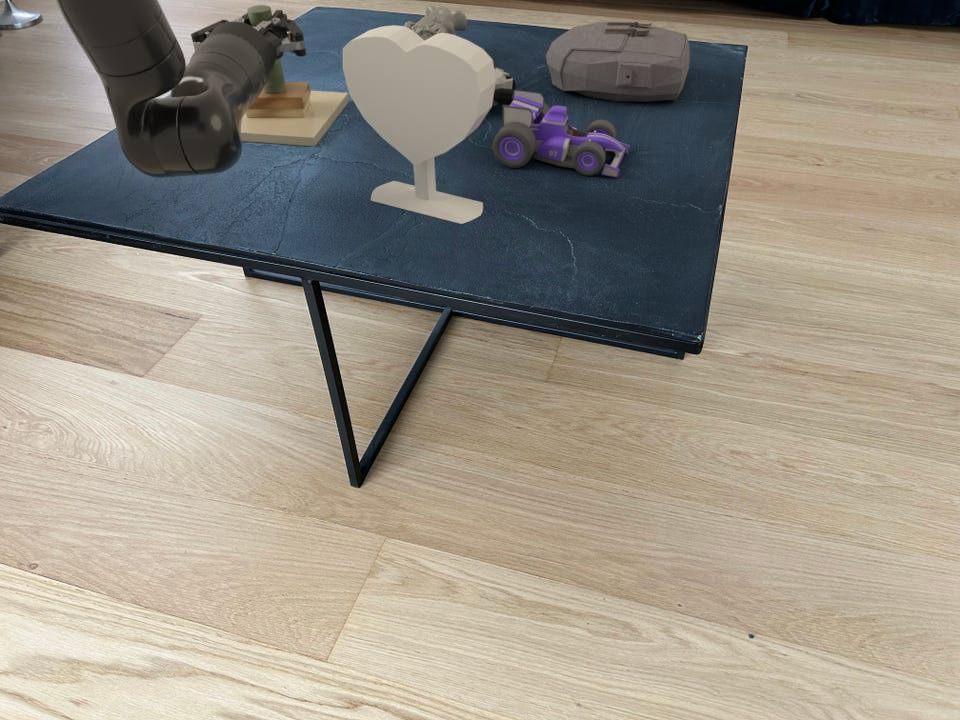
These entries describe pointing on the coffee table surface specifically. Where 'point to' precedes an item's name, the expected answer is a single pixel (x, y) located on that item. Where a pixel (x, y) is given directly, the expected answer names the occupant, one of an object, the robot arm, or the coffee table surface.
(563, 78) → the soft grey pack
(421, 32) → the elephant statuette
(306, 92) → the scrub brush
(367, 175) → the coffee table surface
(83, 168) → the coffee table surface
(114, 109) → the robot arm
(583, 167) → the toy race car
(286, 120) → the tile board
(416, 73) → the heart sculpture
